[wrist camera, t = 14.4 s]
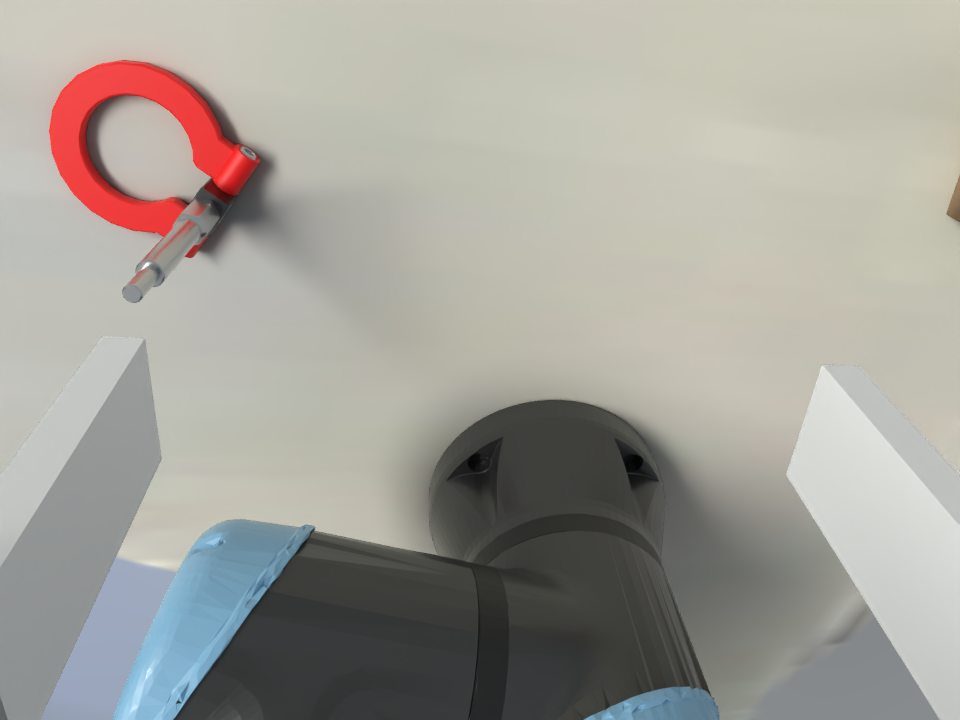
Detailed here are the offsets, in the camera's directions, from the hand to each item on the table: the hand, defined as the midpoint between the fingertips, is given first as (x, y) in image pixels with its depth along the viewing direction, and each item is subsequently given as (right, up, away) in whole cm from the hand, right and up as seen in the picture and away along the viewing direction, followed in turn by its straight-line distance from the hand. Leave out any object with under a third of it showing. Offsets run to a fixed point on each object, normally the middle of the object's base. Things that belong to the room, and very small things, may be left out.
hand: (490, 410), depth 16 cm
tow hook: (-17, +12, +26) cm, 33 cm away
